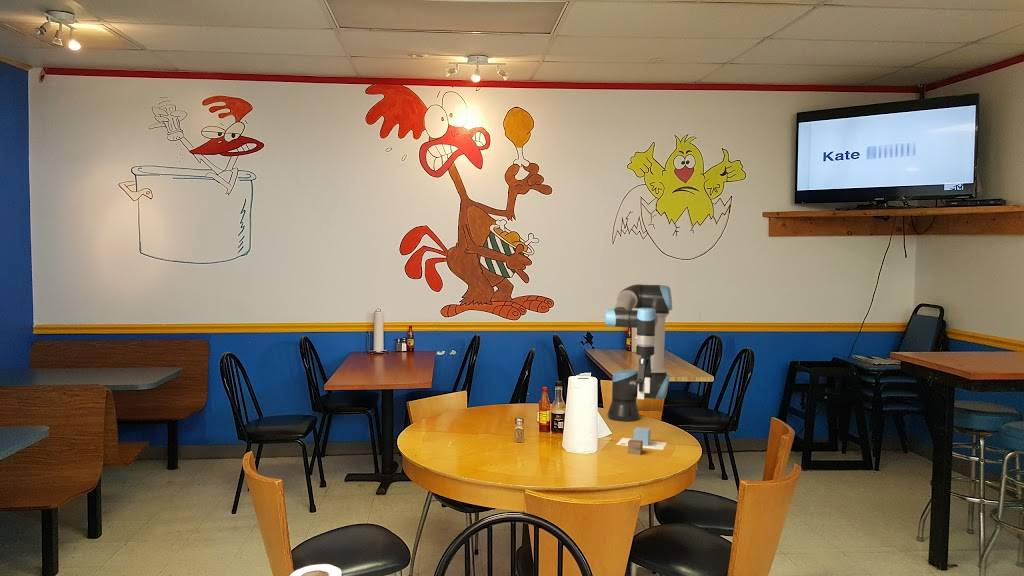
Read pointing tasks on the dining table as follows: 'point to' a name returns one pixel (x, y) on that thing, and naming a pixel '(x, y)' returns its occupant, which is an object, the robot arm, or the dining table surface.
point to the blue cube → (642, 435)
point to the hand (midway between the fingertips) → (643, 395)
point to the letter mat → (652, 446)
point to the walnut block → (635, 446)
